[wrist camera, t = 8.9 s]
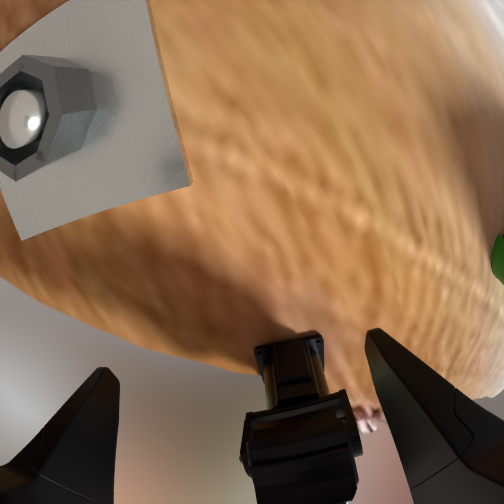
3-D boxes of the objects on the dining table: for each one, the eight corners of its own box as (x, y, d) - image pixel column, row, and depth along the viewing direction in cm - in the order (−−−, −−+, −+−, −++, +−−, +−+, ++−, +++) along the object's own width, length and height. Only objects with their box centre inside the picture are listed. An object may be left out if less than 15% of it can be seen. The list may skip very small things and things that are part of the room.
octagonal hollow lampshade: (105, 138, 15) (72, 150, 11) (32, 173, 15) (-1, 192, 12) (84, 43, 11) (49, 35, 8) (12, 90, 12) (-24, 96, 8)
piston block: (193, 181, 17) (177, 209, 13) (27, 235, 18) (-5, 266, 14) (144, -29, 10) (117, -59, 5) (-16, 74, 11) (-56, 80, 6)
